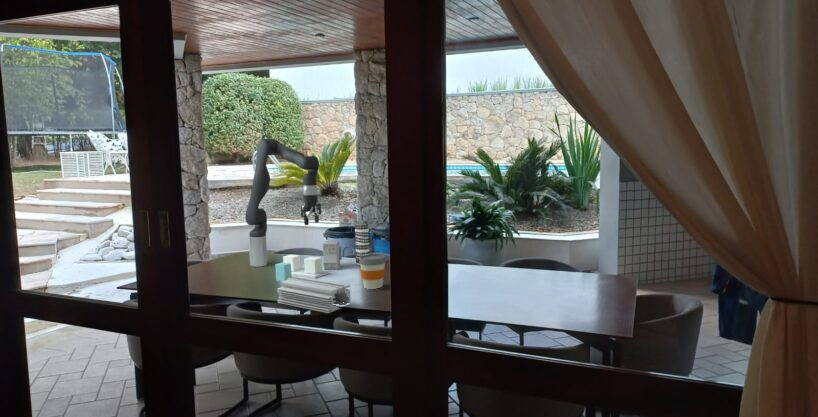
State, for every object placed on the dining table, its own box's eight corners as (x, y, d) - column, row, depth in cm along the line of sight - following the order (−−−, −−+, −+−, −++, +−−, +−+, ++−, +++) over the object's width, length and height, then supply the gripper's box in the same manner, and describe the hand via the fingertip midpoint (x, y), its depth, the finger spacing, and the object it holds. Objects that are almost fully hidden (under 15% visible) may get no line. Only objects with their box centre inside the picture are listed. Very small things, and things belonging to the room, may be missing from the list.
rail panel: (277, 273, 306) (276, 257, 305) (292, 269, 316) (291, 253, 315) (314, 278, 293) (313, 261, 292) (328, 273, 303) (328, 256, 302)
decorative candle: (351, 264, 324) (350, 221, 321) (361, 261, 332) (359, 219, 329) (364, 266, 319) (363, 222, 316) (374, 262, 327) (372, 220, 324)
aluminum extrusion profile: (328, 313, 233) (327, 290, 232) (277, 303, 250) (276, 281, 249) (350, 305, 245) (350, 282, 243) (300, 295, 262) (299, 274, 261)
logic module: (276, 280, 291) (275, 264, 290) (282, 278, 295) (282, 262, 294) (285, 281, 288) (284, 265, 287) (291, 279, 292) (290, 263, 291)
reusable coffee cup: (366, 292, 264) (365, 260, 262) (356, 286, 275) (355, 256, 273) (390, 288, 270) (389, 257, 268) (379, 282, 281) (378, 253, 279)
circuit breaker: (342, 264, 325) (341, 239, 323) (337, 270, 310) (335, 243, 309) (329, 264, 325) (328, 239, 323) (323, 270, 311) (322, 243, 309)
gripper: (313, 192, 307) (314, 221, 309) (296, 194, 294) (297, 225, 296) (324, 192, 303) (325, 222, 305) (307, 195, 291) (308, 226, 293)
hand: (311, 223), depth 301 cm, fingers open, 8 cm apart
